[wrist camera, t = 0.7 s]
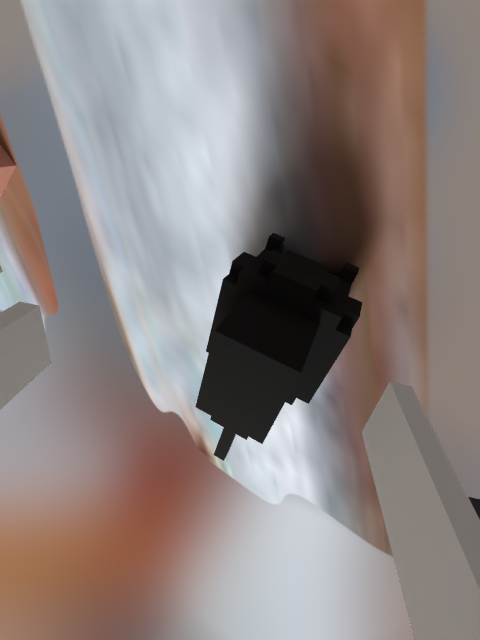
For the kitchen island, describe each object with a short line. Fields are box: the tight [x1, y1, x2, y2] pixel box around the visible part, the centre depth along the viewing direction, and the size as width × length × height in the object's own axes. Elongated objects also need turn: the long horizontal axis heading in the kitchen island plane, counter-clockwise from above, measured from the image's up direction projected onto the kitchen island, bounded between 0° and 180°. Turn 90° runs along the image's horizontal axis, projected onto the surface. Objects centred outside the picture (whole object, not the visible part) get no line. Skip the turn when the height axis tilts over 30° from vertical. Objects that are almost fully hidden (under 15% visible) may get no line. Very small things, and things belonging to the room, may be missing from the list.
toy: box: [196, 233, 362, 461], centre depth 20 cm, size 8×14×10 cm, turn 165°
